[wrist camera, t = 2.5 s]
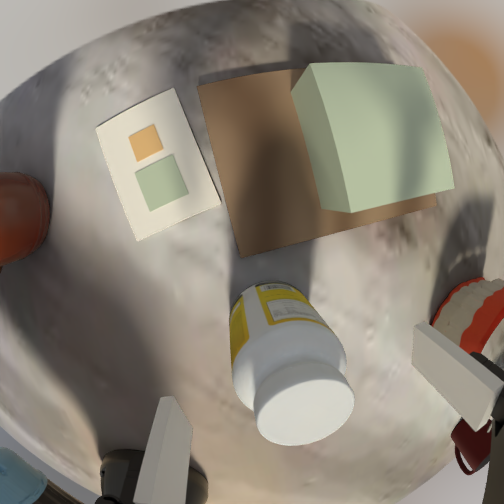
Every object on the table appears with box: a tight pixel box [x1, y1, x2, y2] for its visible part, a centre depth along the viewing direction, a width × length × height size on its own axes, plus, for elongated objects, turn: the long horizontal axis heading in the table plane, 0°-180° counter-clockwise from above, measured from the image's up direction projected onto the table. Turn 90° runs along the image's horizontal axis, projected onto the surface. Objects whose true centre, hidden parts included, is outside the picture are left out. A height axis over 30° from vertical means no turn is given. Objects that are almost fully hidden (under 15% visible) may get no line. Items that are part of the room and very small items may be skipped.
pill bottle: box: [229, 281, 355, 446], centre depth 16 cm, size 6×6×12 cm
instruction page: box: [96, 88, 222, 242], centre depth 18 cm, size 7×10×1 cm
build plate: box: [197, 68, 437, 258], centre depth 19 cm, size 18×13×1 cm
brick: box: [291, 62, 454, 213], centre depth 16 cm, size 9×9×5 cm
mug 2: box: [451, 419, 492, 475], centre depth 26 cm, size 12×9×11 cm
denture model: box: [432, 277, 504, 354], centre depth 21 cm, size 12×10×8 cm
